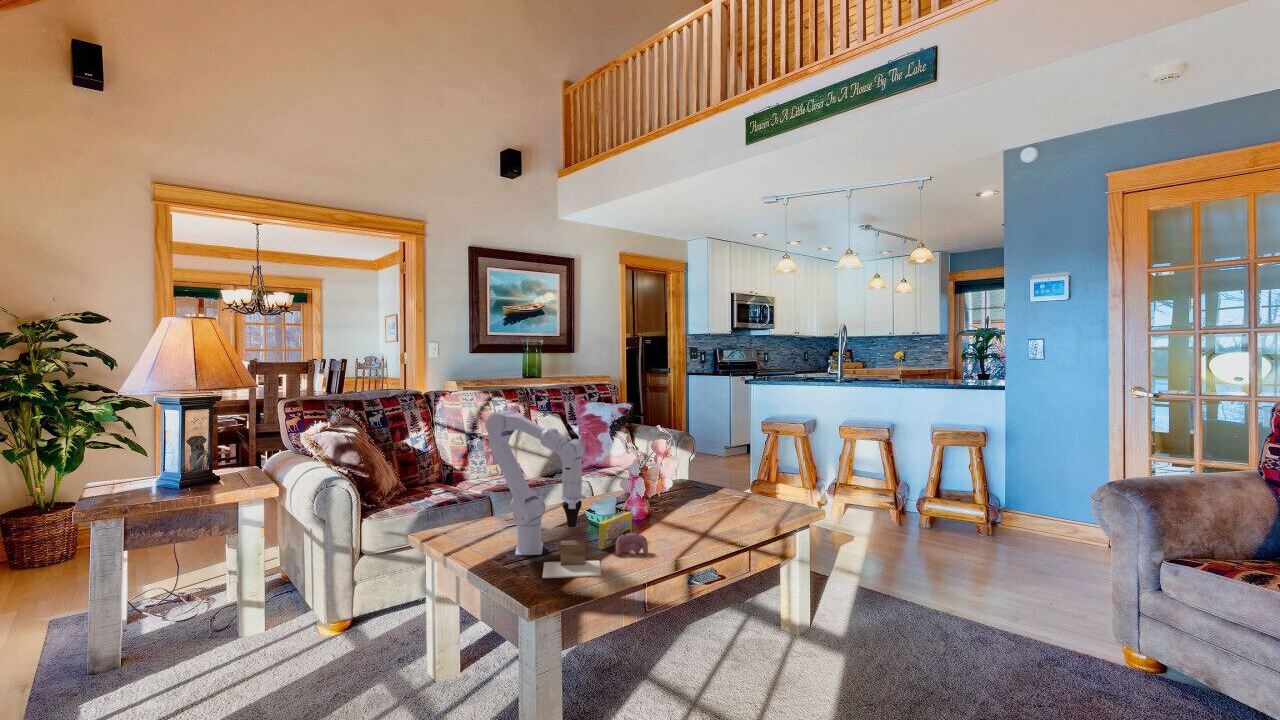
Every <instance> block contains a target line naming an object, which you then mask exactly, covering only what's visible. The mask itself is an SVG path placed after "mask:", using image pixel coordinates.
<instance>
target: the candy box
mask: <svg viewBox="0 0 1280 720" xmlns="http://www.w3.org/2000/svg"><path fill="white" fill-rule="evenodd" d="M632 525H633V512H632V511H625V512H623V513H620V514H619V515H616V516H614V517H611V518H608V519H606V520H602V521H601V522H599V524H598V548H597V549H598V550H602V549H603V550H605V549H607V548H609V547H611V546H614V545H616V540H617V538H618V537H619V536H621V535H624V534H628V533H632V531H633V530H632V529H633V528H632V527H633V526H632Z"/></svg>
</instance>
